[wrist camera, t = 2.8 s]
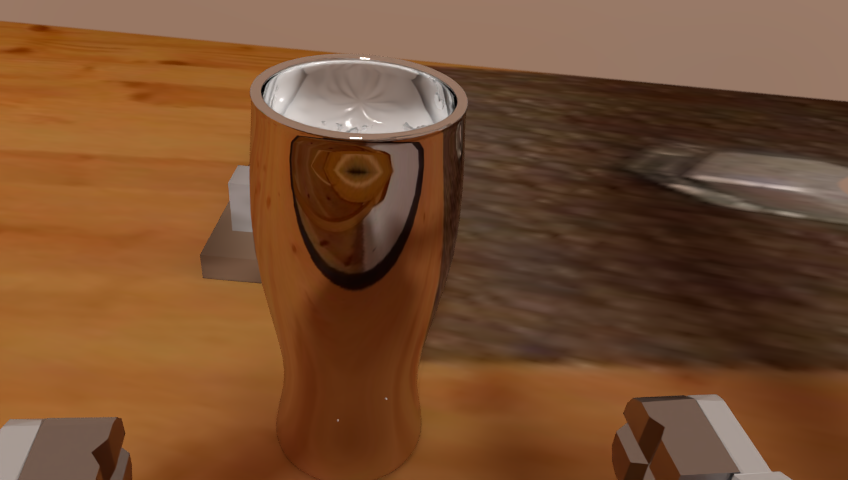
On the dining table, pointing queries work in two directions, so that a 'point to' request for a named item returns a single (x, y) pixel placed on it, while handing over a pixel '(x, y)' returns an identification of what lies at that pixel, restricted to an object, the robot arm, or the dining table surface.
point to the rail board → (233, 237)
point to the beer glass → (353, 247)
